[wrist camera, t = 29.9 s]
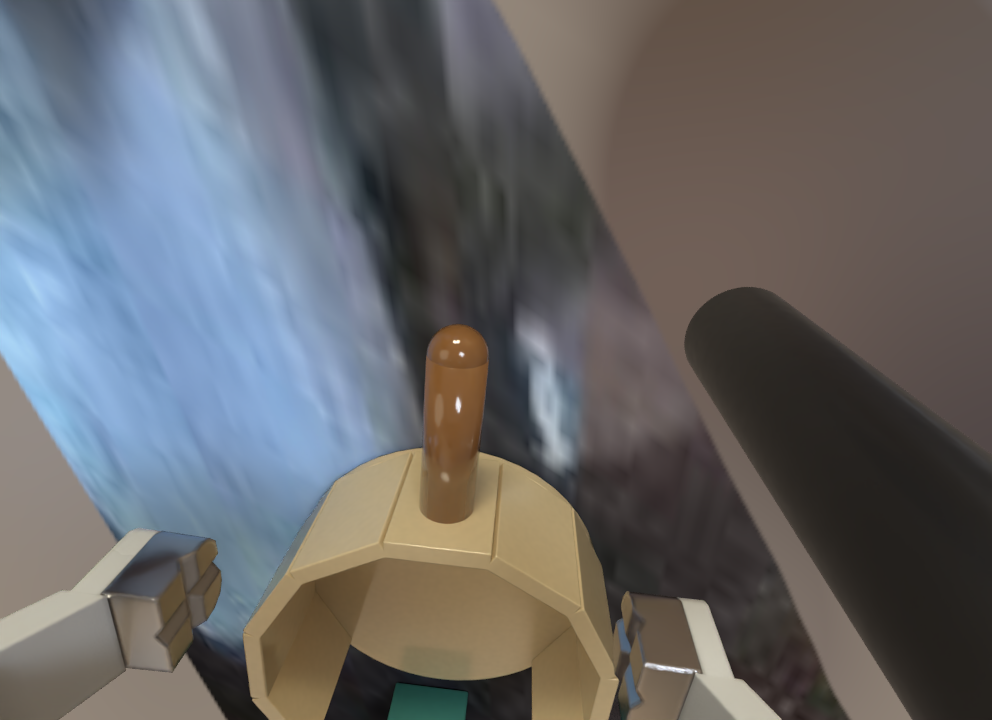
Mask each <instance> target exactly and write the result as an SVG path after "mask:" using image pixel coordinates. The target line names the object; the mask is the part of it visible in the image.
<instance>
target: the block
mask: <svg viewBox="0 0 992 720" xmlns="http://www.w3.org/2000/svg"><path fill="white" fill-rule="evenodd" d="M467 700H468V692H467V691H459V690H451V689H444V688H436V687H428V686H420V685H412V684H405V683H396V686H395V690H394V694H393V698H392V703H391V707H390V711H389V715H388V719H387V720H465V718H466V709H467Z"/></svg>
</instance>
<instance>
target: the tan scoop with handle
mask: <svg viewBox="0 0 992 720" xmlns="http://www.w3.org/2000/svg"><path fill="white" fill-rule="evenodd" d="M488 363H489V350H488V345H487V343H486V341H485V339H484V338H483V336H482V335H481V334H480V333H479V332H478V331H477V330H475V329H474V328H472V327H470V326H467V325H463V324H452V325H449V326H446V327H444V328H442V329H440V330H439V331H438V332H437V333H435V334H434V336H433V337H432V339H431V340H430V342H429V345H428V348H427V353H426V374H425V394H424V414H423V435H422V448H416V449H410V450H404V451H398V452H394V453H391V454H388V455H384V456H381V457H378V458H376V459H373V460H371V461H369V462H367V463H364V464H362V465H360V466H358V467H357V468H355V469H354V470H352V471H350V472H349V473H347V474H345V475H344V476H343V477H341V478H339V479H338V481H337V480H336V481H335V482H334V483H333V485H332V486H331V487H330V489H329V490H328V491H327V492H326V493H325V494H324V496H323V497H322V498H321V499H320V501H319V503H318V504H317V506H316V508H315V509H314V511H313V512H312V513H311V515H310V516H309V518H308V519H307V520H306V522H305V523H304V524H303V526H302V527H301V529H300V530H299V532H298V533H297V535H296V537H295V539H294V540H293V542H292V544H291V546H290V548H289V549H288V551H287V553H286V555H285V556H284V558H283V560H282V562H281V564H280V565H279V567H278V569H277V571H276V572H275V574H274V576H273V578H272V580H271V581H270V583H269V585H268V587H267V588H266V590H265V592H264V594H263V596H262V597H261V599H260V601H259V603H258V605H257V606H256V608H255V610H254V612H253V613H252V615H251V617H250V619H249V621H248V622H247V624H246V626H245V628H244V629H243V631H244V633H243V641H244V649H245V657H246V664H247V672H248V680H249V687H250V695H251V697H252V698H253V699H252V701H253V702H254V703H255V705H256V706H257V707H258V708H259V709H260V710H261V711H262V712H263V713H264V714H265V716H266V717H267V718H268V719H269V720H324V719H325V716H326V713H327V710H328V707H329V704H330V701H331V698H332V695H333V692H334V690H335V687H336V684H337V681H338V678H339V675H340V672H341V669H342V666H343V663H344V660H345V658H346V655H347V652H348V649H349V646H350V644H351V645H352V646H354V647H355V648H356V649H358V650H359V651H361V652H363V653H364V654H366V655H368V656H370V657H371V658H373V659H375V660H377V661H379V662H381V663H384V664H386V665H388V666H390V667H393V668H396V669H399V670H402V671H404V672H408V673H412V674H416V675H420V676H424V677H430V678H436V679H446V680H480V679H490V678H495V677H500V676H505V675H509V674H512V673H516V672H519V671H522V670H525V669H527V668H529V667H532V720H608V718H609V715H610V711H611V708H612V704H613V701H614V697H615V694H616V690H617V687H618V683H619V679H618V678H617V677H616V676H615V674H614V666H613V651H612V649H613V635H612V628H611V622H610V616H609V609H608V603H607V596H606V590H605V584H604V577H603V571H602V566H601V564H600V562H599V560H598V558H597V556H596V553H595V551H594V548H593V544H592V541H591V538H590V536H589V533H588V531H587V529H586V527H585V525H584V523H583V522H582V520H581V518H580V517H579V515H578V514H577V512H576V511H575V510H574V509H573V507H572V506H571V505H570V504H569V502H568V501H567V500H566V499H565V498H564V497H563V496H562V495H561V494H560V493H559V492H558V491H557V490H555V489H554V488H553V487H552V486H551V485H549V484H548V483H547V482H545V481H544V480H542V479H541V478H540V477H538V476H537V475H535V474H533V473H531V472H530V471H528V470H526V469H524V468H523V467H521V466H519V465H516V464H514V463H511V462H509V461H507V460H504V459H502V458H499V457H495V456H492V455H489V454H485V453H482V452H480V443H481V433H482V423H483V413H484V403H485V393H486V383H487V373H488Z"/></svg>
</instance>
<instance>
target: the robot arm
mask: <svg viewBox="0 0 992 720" xmlns="http://www.w3.org/2000/svg"><path fill="white" fill-rule="evenodd" d="M217 554H218V551H217V546H216V541H215V540H213V539H210V538H205V537H198V536H192V535H185V534H179V533H172V532H166V531H157V530H150V529H144V528H136V529H134V530H131V531H129V532H128V533H127V534H126V535H125V536H124V537H123V538H122V539H121V540H120V541H119V542H118V543H117V544H116V545H115V546H114V547H113V548H112V549H111V550H110V551H109V552H108V553H107V554H106V555H105V556H104V557H103V558H102V559H101V560H100V561H99V562H98V563H97V564H96V565H95V566H94V567H93V568H92V569H91V570H90V571H89V572H88V573H87V574H86V575H85V576H84V577H83V578H82V579H81V580H80V581H79V582H78V583H77V584H76V586H74V587H73V588H72V589H71V590H70V591H65V590H61V591H59V592H57V593H55V594H53V595H51V596H48V597H46V598H44V599H42V600H40V601H38V602H36V603H34V604H32V605H30V606H28V607H25V608H23V609H21V610H19V611H17V612H15V613H12V614H10V615H8V616H6V617H4V618H2V619H0V720H59V719H60V718H62V717H63V716H64V715H66V714H67V713H69V712H70V711H71V710H73V709H74V708H75V707H77V706H78V705H79V704H81V703H82V702H84V701H85V700H86V699H88V698H89V697H90V696H92V695H93V694H95V693H96V692H97V691H99V690H100V689H102V688H103V687H104V686H105V685H107V684H108V683H109V682H111V681H112V680H114V679H115V678H117V677H118V676H119V675H120V674H122V673H123V672H125V671H126V668H132V669H142V670H152V671H162V672H171V673H172V672H173V671H174V669H175V668H176V666H177V665H178V663H179V662H180V660H181V658H182V657H183V656H184V654H185V653H186V651H187V649H188V648H189V646H190V645H191V643H192V642H193V634H192V629H194V628H195V627H197V626H198V625H200V624H202V623H203V622H205V621H207V619H208V617H209V616H210V614H211V613H212V611H213V609H214V608H215V605H216V603H217V600H218V597H219V594H220V591H221V582H222V579H221V571H220V569H219V568H218V567H217V566H216V565H215V564H214V563H213V562H212V561H213V560H214V558H215V557H216V556H217ZM621 609H622V615H623V618H621V619H620V620H619V621H617V622H616V627H615V631H614V636H613V649H612V651H613V666H614V674H615V676H616V677H617V678H618V679H619V681H620V682H621V683H622V684H621V687H620V691H619V694H618V703H619V709H620V716H621V720H782V719H781V718H780V717H779V716H778V715H777V714H776V713H775V712H774V711H773V710H772V709H771V708H770V707H769V706H768V705H767V704H766V703H765V702H764V701H763V700H762V699H761V698H760V697H759V696H758V695H757V694H756V693H755V692H754V691H753V690H752V689H751V688H750V687H749V686H748V685H747V684H746V683H745V682H744V681H743V680H741V679H735V678H734V676H733V673H732V670H731V667H730V665H729V662H728V659H727V656H726V653H725V651H724V648H723V645H722V642H721V639H720V637H719V634H718V631H717V628H716V625H715V623H714V620H713V617H712V614H711V611H710V609H709V606H708V604H707V603H706V602H705V601H703V600H695V599H686V598H676V597H670V596H661V595H653V594H644V593H636V592H626V593H625V595H624V597H623V600H622V604H621Z"/></svg>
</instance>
